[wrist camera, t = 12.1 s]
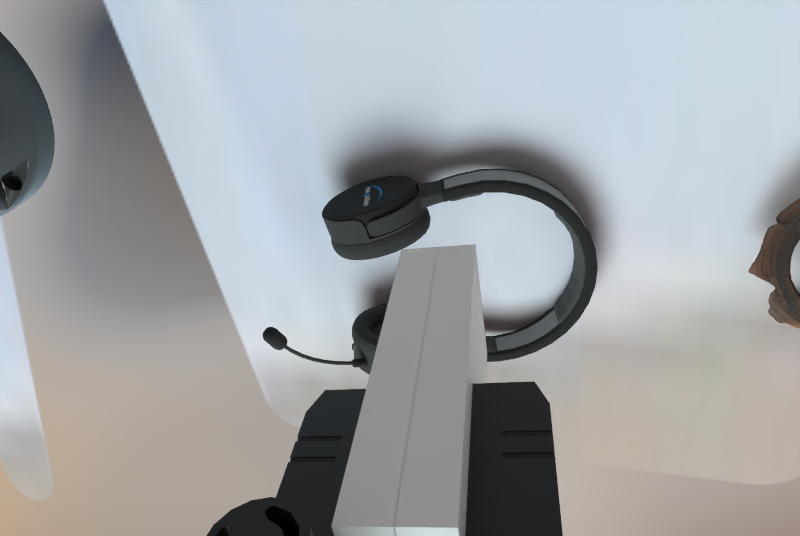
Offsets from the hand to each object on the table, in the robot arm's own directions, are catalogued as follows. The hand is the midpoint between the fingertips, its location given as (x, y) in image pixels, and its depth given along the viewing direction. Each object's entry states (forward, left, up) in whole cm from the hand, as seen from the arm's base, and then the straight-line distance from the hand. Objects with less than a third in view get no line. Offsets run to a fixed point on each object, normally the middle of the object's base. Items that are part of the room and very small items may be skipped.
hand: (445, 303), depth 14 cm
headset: (-4, -14, -27) cm, 31 cm away
